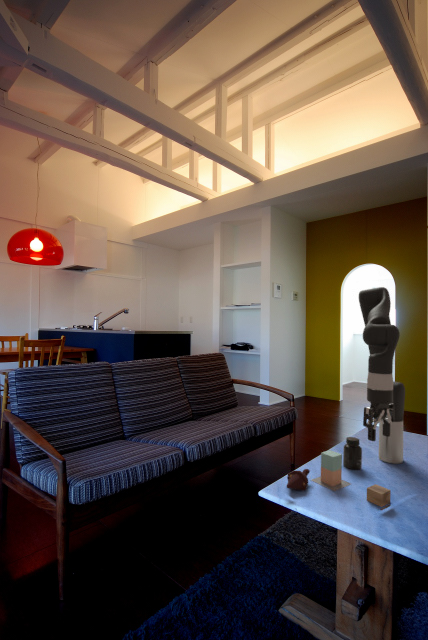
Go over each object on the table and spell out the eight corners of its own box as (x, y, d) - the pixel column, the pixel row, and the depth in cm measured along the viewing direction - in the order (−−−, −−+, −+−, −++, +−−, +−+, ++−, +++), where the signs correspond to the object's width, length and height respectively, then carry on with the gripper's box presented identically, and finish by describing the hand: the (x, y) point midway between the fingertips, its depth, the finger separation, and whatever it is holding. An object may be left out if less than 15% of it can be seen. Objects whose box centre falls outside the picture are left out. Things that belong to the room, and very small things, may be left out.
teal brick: (329, 463, 129) (330, 450, 129) (341, 468, 125) (342, 454, 125) (320, 466, 126) (321, 452, 126) (332, 471, 122) (333, 457, 122)
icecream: (300, 483, 112) (319, 472, 123) (280, 470, 116) (300, 461, 128) (294, 503, 112) (313, 491, 124) (274, 490, 117) (295, 479, 128)
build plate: (327, 476, 132) (327, 473, 132) (351, 486, 124) (351, 483, 124) (310, 482, 126) (310, 480, 126) (334, 494, 118) (334, 491, 118)
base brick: (329, 477, 129) (329, 463, 129) (341, 482, 125) (341, 468, 125) (320, 481, 126) (320, 466, 126) (332, 486, 122) (332, 471, 122)
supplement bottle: (363, 473, 135) (363, 442, 135) (344, 471, 137) (345, 440, 137) (359, 466, 142) (360, 436, 142) (341, 465, 143) (342, 435, 144)
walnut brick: (375, 499, 115) (375, 484, 115) (390, 506, 111) (390, 490, 111) (366, 503, 112) (366, 487, 112) (381, 510, 108) (382, 494, 108)
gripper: (380, 383, 120) (380, 431, 119) (356, 387, 111) (355, 438, 111) (403, 387, 113) (402, 437, 113) (379, 391, 105) (378, 445, 105)
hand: (379, 438), depth 112 cm, fingers open, 8 cm apart
